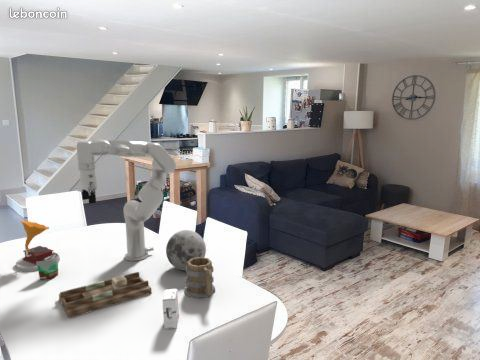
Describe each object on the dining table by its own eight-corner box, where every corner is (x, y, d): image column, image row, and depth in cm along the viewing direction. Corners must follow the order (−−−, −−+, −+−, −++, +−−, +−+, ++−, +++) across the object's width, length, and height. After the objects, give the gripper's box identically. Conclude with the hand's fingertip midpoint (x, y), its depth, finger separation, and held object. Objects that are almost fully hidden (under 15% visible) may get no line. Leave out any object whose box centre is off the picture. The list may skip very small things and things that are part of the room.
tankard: (182, 287, 168) (181, 256, 165) (208, 282, 173) (208, 252, 170) (195, 308, 150) (194, 274, 147) (224, 302, 155) (223, 269, 152)
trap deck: (136, 278, 177) (136, 269, 176) (151, 293, 162) (151, 283, 162) (59, 299, 157) (58, 289, 156) (68, 318, 142) (67, 307, 142)
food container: (49, 282, 172) (47, 262, 170) (37, 281, 173) (35, 261, 171) (66, 271, 184) (64, 252, 182) (55, 270, 185) (53, 251, 183)
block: (123, 283, 166) (122, 275, 165) (127, 287, 162) (126, 279, 161) (112, 286, 163) (111, 277, 162) (115, 290, 159) (115, 282, 158)
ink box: (166, 316, 144) (165, 288, 142) (179, 316, 144) (178, 287, 142) (163, 329, 135) (162, 299, 133) (177, 328, 136) (176, 299, 134)
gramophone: (29, 274, 180) (24, 226, 176) (8, 265, 191) (2, 219, 186) (68, 260, 197) (64, 216, 193) (46, 253, 208) (42, 210, 203)
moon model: (185, 257, 202) (185, 222, 198) (214, 266, 190) (213, 229, 187) (158, 270, 186) (156, 232, 182) (187, 280, 174) (186, 240, 171)
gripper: (100, 168, 174) (103, 203, 177) (88, 164, 187) (90, 196, 190) (84, 169, 169) (87, 205, 172) (73, 165, 182) (75, 199, 185)
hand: (89, 201), depth 181 cm, fingers open, 9 cm apart
